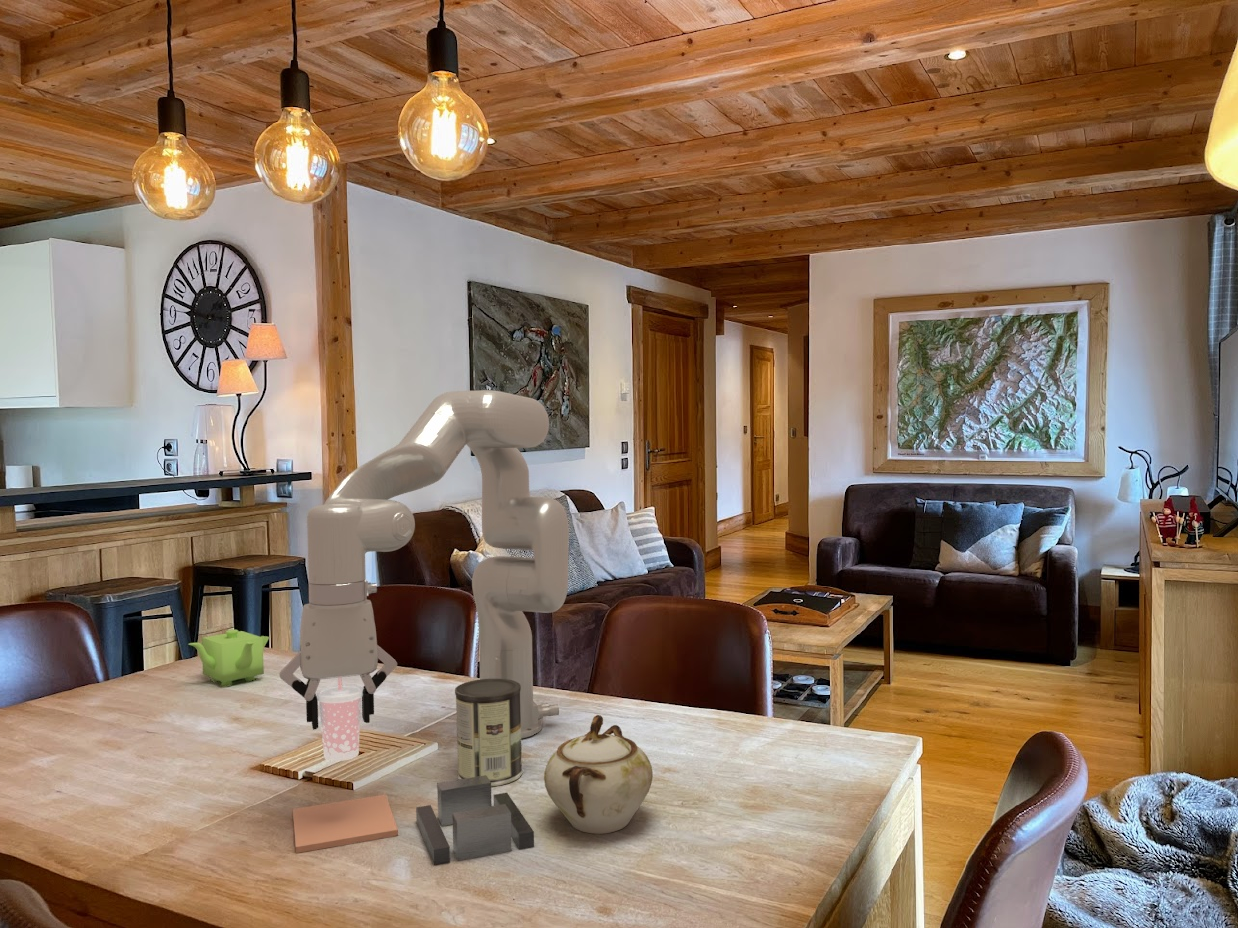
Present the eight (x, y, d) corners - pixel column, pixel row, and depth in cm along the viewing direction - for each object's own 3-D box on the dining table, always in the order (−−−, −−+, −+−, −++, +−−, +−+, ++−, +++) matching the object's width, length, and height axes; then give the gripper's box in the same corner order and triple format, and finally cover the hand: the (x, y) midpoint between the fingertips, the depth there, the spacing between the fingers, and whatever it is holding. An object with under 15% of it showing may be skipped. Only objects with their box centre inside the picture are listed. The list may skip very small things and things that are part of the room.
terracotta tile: (385, 799, 135) (385, 794, 135) (398, 835, 123) (397, 829, 123) (292, 814, 130) (292, 808, 130) (295, 852, 118) (295, 846, 118)
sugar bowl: (629, 860, 115) (627, 742, 114) (520, 845, 119) (518, 732, 119) (669, 799, 133) (667, 698, 133) (573, 788, 138) (571, 690, 137)
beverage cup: (356, 762, 123) (354, 660, 122) (311, 763, 123) (309, 660, 122) (369, 747, 129) (367, 649, 129) (326, 747, 129) (324, 649, 129)
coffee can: (496, 758, 151) (494, 674, 151) (535, 774, 144) (534, 686, 144) (443, 775, 144) (441, 687, 144) (482, 793, 137) (480, 700, 136)
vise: (507, 805, 132) (506, 771, 132) (534, 846, 119) (533, 808, 119) (416, 821, 127) (415, 786, 127) (434, 865, 114) (433, 825, 114)
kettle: (254, 688, 196) (252, 637, 195) (187, 691, 195) (185, 639, 194) (276, 670, 211) (275, 622, 210) (213, 672, 210) (212, 624, 209)
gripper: (397, 585, 132) (400, 708, 133) (270, 594, 126) (273, 723, 126) (405, 593, 125) (408, 723, 126) (270, 603, 119) (274, 740, 119)
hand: (340, 722), depth 126 cm, fingers closed on beverage cup, 6 cm apart
